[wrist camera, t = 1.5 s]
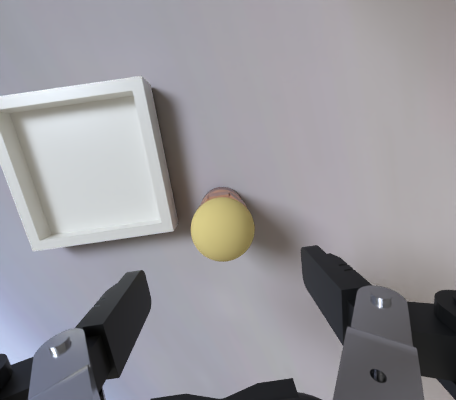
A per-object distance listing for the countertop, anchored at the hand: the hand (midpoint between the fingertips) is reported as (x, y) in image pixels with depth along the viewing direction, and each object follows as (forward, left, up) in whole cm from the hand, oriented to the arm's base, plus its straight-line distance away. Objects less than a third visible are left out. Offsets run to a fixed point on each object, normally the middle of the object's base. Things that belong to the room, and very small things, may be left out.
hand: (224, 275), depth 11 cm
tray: (-6, -12, -13) cm, 19 cm away
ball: (0, 0, -6) cm, 6 cm away
